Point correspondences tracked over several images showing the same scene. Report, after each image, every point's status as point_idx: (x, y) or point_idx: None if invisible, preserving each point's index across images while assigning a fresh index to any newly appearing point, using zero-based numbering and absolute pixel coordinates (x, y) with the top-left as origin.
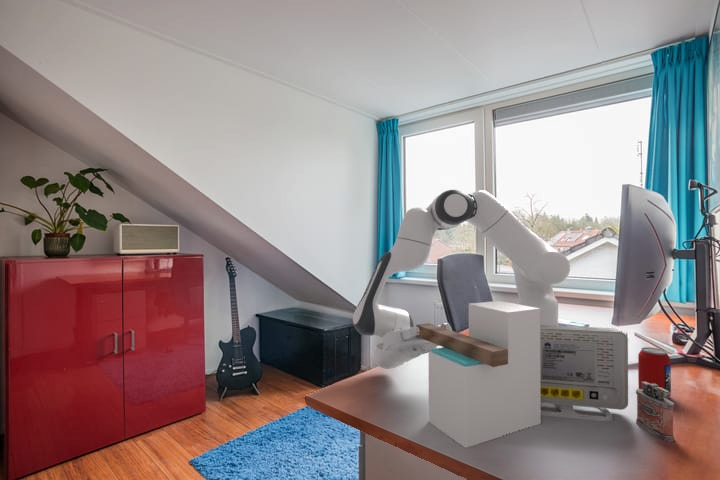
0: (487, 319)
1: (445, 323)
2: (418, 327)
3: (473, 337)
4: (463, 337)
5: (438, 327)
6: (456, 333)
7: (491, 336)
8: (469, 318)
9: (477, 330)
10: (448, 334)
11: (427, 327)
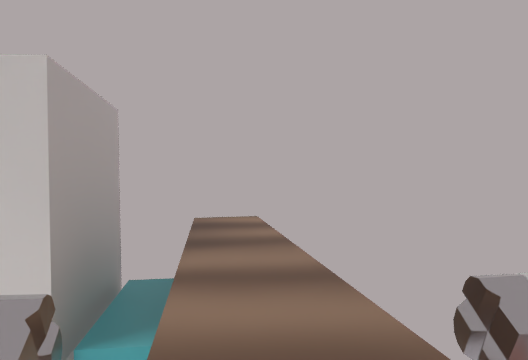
0: (94, 151)
1: (23, 295)
2: (471, 278)
3: (67, 293)
4: (231, 236)
5: (205, 295)
6: (206, 249)
7: (102, 230)
8: (52, 167)
9: (76, 232)
10: (272, 247)
11: (334, 306)
